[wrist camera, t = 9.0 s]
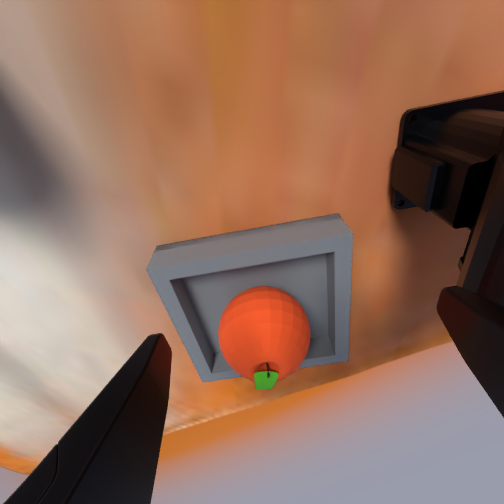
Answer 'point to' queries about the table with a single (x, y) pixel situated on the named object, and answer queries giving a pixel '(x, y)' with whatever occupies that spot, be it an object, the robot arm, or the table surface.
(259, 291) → the clementine
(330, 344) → the tray
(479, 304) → the robot arm
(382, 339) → the table surface
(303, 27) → the table surface
